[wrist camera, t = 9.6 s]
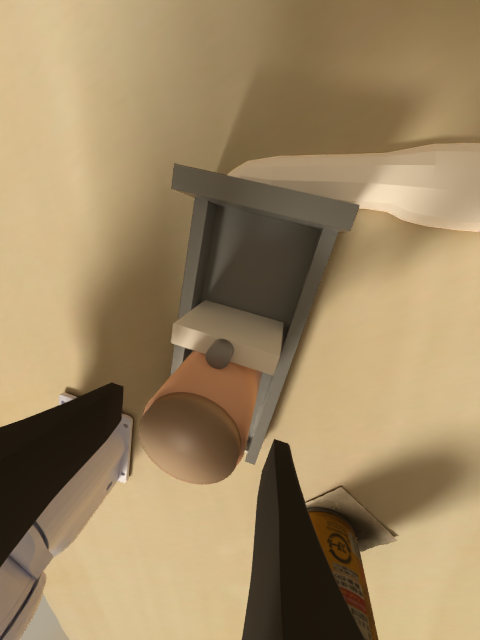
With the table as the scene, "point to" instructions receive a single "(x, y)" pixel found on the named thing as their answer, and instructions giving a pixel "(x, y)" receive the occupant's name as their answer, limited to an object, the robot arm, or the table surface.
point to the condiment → (348, 549)
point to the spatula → (387, 181)
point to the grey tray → (257, 262)
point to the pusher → (230, 336)
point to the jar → (200, 420)
